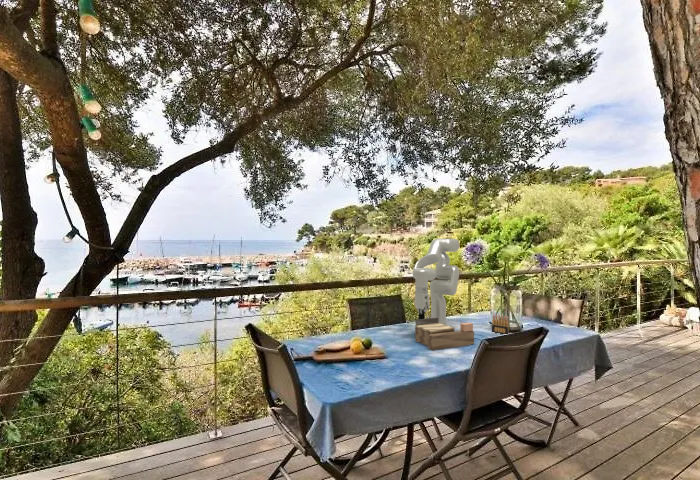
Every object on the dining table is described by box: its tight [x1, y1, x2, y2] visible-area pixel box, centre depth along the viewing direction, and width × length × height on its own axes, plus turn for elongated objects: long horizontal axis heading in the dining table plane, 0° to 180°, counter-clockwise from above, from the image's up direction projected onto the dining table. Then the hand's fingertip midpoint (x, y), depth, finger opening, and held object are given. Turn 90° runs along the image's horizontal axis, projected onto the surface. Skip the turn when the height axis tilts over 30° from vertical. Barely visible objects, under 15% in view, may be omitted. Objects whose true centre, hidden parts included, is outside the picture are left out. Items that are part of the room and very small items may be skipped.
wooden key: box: [459, 322, 474, 332], centre depth 247 cm, size 4×6×4 cm, turn 114°
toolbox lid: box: [414, 317, 456, 333], centre depth 251 cm, size 16×16×4 cm
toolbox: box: [414, 326, 475, 351], centre depth 250 cm, size 21×28×8 cm
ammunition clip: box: [491, 313, 510, 336], centre depth 271 cm, size 11×2×12 cm, turn 45°
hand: (421, 320), depth 263 cm, fingers closed
